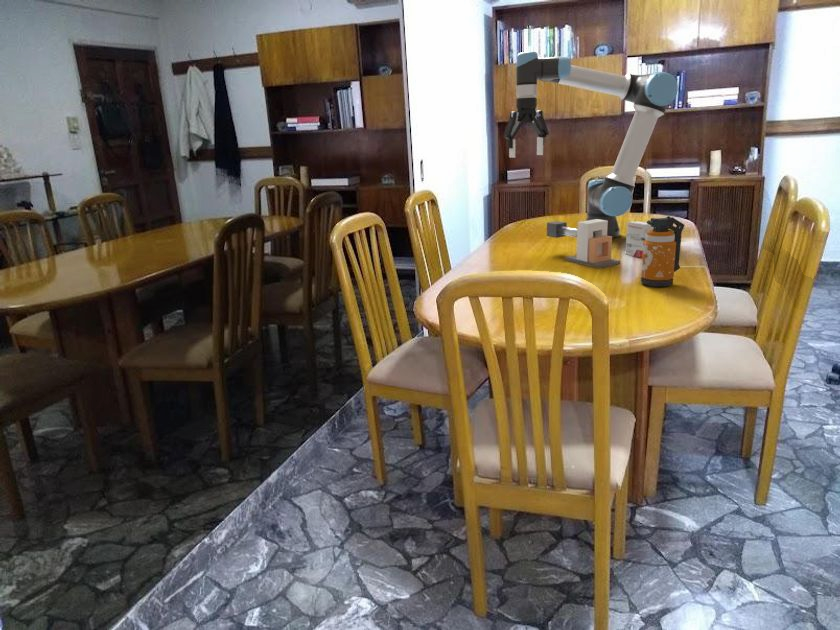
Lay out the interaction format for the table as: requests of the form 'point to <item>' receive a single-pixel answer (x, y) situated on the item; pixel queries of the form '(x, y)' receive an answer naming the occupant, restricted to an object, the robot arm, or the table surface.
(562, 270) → the table surface
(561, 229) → the shaft
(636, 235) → the ink box
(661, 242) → the canister
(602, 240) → the plate
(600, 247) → the bearing block
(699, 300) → the table surface
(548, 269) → the table surface
